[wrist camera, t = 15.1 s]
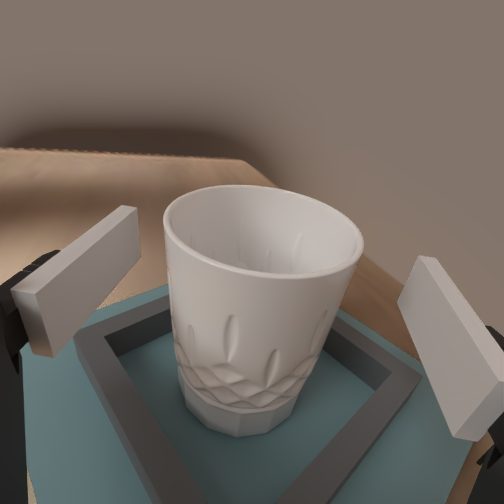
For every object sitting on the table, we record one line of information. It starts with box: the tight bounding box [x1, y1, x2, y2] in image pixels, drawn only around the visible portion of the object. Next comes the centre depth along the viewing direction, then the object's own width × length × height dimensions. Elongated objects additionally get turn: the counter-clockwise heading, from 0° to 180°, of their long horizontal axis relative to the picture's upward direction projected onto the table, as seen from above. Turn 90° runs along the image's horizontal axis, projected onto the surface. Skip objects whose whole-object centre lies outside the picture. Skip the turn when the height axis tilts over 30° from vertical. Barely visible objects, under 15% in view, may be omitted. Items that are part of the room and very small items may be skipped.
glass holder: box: [20, 284, 474, 504], centre depth 17 cm, size 20×20×3 cm
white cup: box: [163, 185, 364, 438], centre depth 15 cm, size 8×8×10 cm
